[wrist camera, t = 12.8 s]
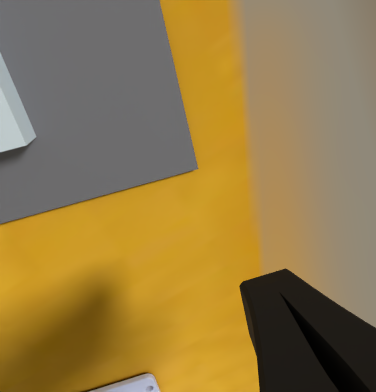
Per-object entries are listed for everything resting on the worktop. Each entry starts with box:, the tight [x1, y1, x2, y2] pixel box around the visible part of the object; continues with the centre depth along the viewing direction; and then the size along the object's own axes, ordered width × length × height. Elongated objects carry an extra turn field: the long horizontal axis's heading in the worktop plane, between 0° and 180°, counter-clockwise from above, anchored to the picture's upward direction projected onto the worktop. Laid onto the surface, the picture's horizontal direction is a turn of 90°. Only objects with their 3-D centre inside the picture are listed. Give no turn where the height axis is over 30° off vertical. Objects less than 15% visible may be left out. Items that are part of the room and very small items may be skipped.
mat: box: [0, 0, 198, 224], centre depth 14 cm, size 14×12×1 cm
